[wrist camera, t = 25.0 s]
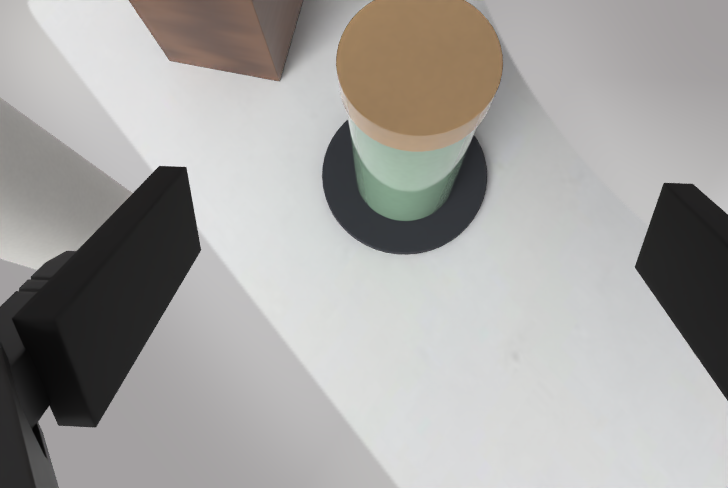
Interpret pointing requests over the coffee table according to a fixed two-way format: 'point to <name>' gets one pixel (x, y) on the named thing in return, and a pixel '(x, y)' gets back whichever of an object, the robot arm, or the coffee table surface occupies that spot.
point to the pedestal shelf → (224, 33)
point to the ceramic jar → (415, 98)
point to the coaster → (394, 232)
